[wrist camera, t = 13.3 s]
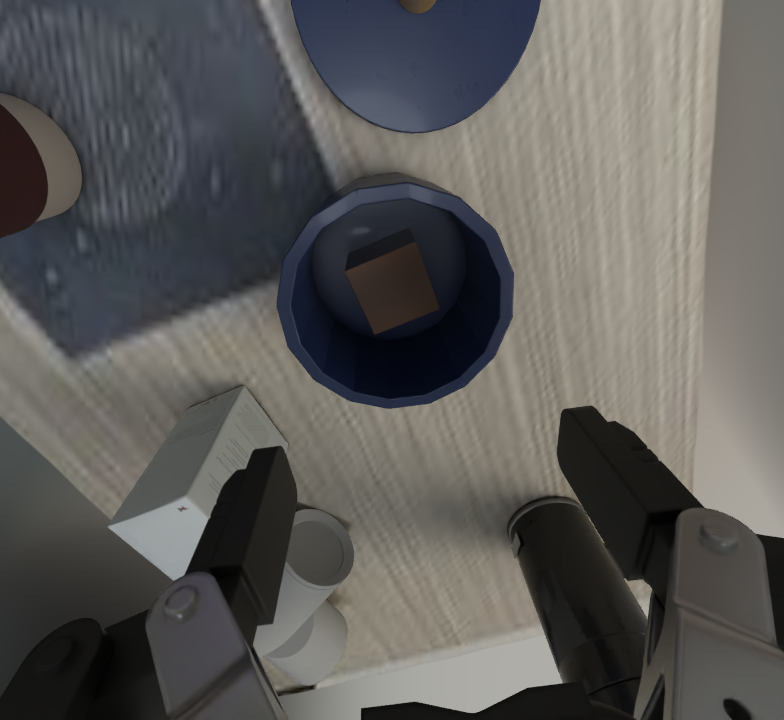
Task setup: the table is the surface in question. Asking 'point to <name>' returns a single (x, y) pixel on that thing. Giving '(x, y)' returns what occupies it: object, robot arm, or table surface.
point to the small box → (192, 478)
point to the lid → (415, 55)
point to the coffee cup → (33, 167)
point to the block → (391, 281)
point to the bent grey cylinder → (309, 601)
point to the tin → (414, 338)
